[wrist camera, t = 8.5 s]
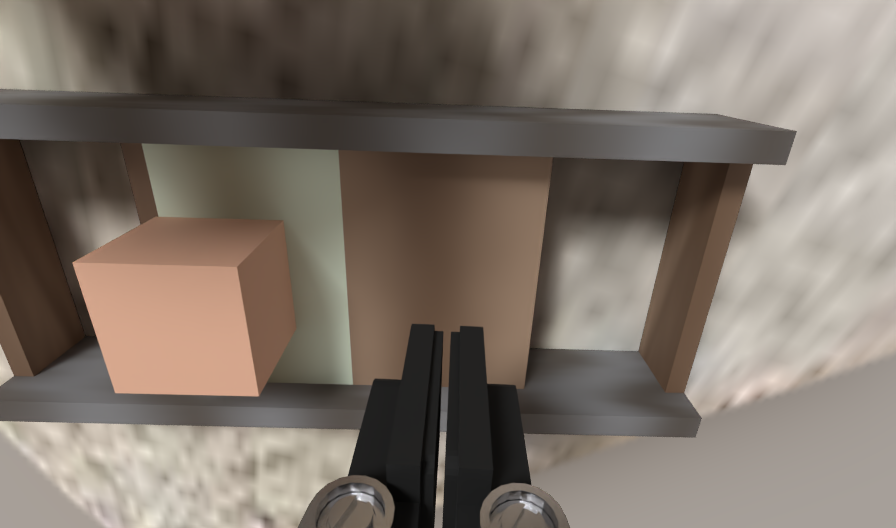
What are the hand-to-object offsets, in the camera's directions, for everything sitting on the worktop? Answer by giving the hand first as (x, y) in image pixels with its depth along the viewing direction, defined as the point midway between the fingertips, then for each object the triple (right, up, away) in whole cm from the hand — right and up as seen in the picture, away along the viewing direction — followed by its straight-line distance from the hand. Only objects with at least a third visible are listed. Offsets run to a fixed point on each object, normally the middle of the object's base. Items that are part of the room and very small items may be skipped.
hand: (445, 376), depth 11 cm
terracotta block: (-8, +2, +6) cm, 11 cm away
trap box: (-4, +3, +9) cm, 10 cm away
